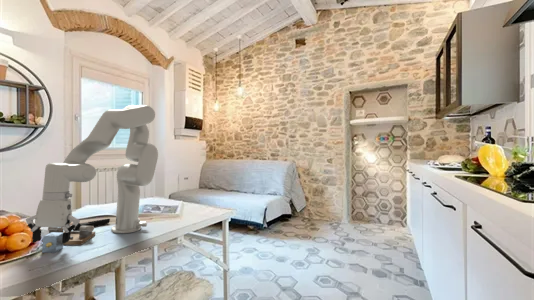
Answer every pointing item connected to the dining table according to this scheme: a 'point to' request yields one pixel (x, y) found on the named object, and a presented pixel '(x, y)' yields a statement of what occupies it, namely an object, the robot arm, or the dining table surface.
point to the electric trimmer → (92, 223)
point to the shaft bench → (76, 234)
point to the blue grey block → (52, 242)
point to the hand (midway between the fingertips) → (51, 241)
